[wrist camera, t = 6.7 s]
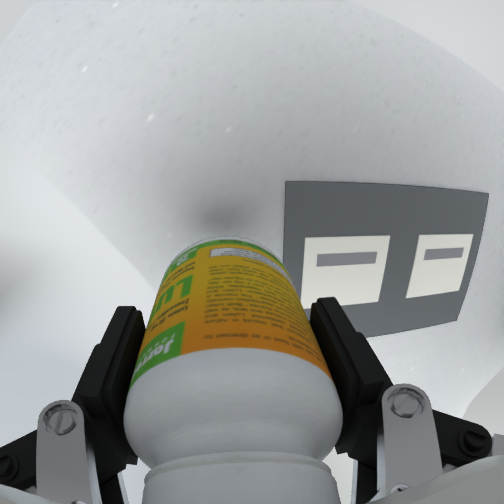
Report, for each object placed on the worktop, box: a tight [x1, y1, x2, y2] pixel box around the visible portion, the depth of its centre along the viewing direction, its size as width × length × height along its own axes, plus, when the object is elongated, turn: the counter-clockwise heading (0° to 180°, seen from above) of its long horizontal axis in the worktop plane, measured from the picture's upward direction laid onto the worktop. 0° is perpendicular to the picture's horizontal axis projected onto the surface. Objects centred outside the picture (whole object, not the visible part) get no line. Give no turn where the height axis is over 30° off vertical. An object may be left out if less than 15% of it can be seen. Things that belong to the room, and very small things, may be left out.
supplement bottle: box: [123, 236, 343, 504], centre depth 8 cm, size 5×5×10 cm
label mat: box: [283, 181, 489, 338], centre depth 23 cm, size 20×14×1 cm
